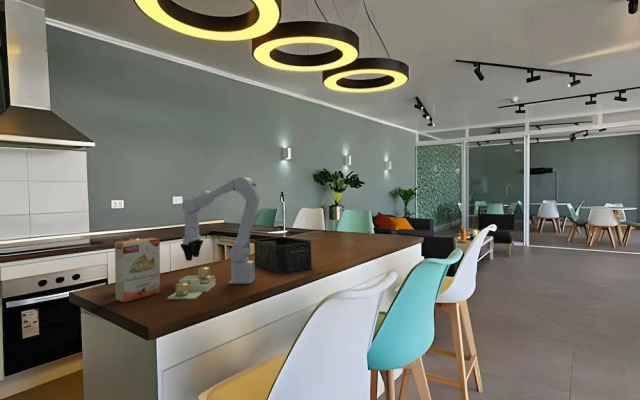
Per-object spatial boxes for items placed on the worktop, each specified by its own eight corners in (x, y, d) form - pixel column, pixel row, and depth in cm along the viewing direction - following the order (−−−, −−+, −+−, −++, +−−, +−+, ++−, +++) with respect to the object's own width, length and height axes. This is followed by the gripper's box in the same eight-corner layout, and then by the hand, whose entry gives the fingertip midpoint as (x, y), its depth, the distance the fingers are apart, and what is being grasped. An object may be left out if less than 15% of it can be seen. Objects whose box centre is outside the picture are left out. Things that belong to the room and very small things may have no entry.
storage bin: (252, 264, 183) (251, 239, 182) (283, 259, 195) (283, 235, 194) (280, 274, 160) (280, 245, 160) (314, 268, 172) (314, 241, 172)
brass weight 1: (190, 293, 131) (190, 282, 131) (185, 296, 126) (185, 285, 126) (178, 293, 131) (178, 282, 131) (173, 296, 126) (173, 285, 126)
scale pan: (214, 278, 144) (214, 275, 143) (208, 283, 136) (208, 280, 136) (186, 278, 144) (186, 275, 144) (178, 283, 136) (178, 280, 136)
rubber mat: (202, 293, 132) (202, 292, 132) (195, 299, 125) (194, 297, 125) (176, 293, 132) (176, 292, 132) (167, 299, 125) (167, 297, 125)
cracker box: (124, 303, 121) (122, 243, 120) (115, 300, 124) (113, 241, 124) (161, 293, 133) (160, 238, 132) (152, 290, 136) (150, 237, 136)
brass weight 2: (211, 276, 142) (211, 266, 142) (207, 279, 138) (207, 269, 137) (200, 276, 142) (200, 266, 142) (196, 279, 138) (196, 269, 138)
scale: (215, 284, 144) (215, 273, 144) (206, 291, 134) (206, 279, 134) (186, 284, 144) (186, 273, 144) (175, 291, 134) (175, 279, 134)
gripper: (189, 225, 158) (189, 255, 158) (175, 229, 143) (176, 262, 144) (204, 225, 158) (205, 255, 158) (192, 228, 143) (193, 262, 143)
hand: (192, 258), depth 151 cm, fingers open, 7 cm apart
